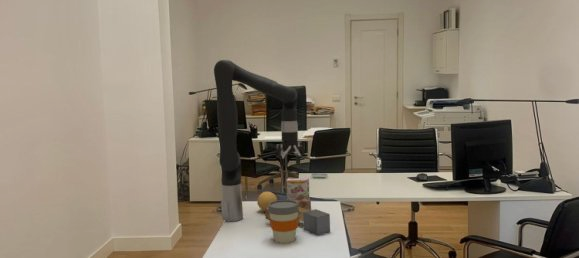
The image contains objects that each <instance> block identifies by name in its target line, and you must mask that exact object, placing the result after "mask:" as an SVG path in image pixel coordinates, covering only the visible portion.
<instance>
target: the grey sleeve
mask: <svg viewBox="0 0 579 258" xmlns="http://www.w3.org/2000/svg"><path fill="white" fill-rule="evenodd" d="M303 221H304V222H303V231H305V232H307V233H310V234H312V235H314V236H316V237H317V236H323V235H325V234H329V233H331V216H330V213H329V212H328V213H327V212H326V211H321V210H319V209H316V208H314V209H311V211H307V212H303Z"/></svg>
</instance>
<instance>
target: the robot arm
mask: <svg viewBox="0 0 579 258" xmlns="http://www.w3.org/2000/svg"><path fill="white" fill-rule="evenodd" d="M213 75H214V80H215V88H216V105H217V106H216V107H217V108H216V109H217V110H216V113H217V124H218V125H217V126H218V134H219V142H220V145H219V147H220V149H219V165H220V167H221V192H222V193H221V196H222V197H221V198H222V199H221V200H220V203H221V204H220V205H221V206H220V208H221V220H223V221H225V222H227V223H230V222H238V221H242V220H243V219H244V209H243V207H244V206H243V191H242V160H241V155H240V153H239V152H238V148H237V135H238V127H239V125H238V124H239V123H238V119H239V118H238V108H237V106H238V105H237V104H236V103H237V102H236V99H235V95H234V91H233V82H238V83H241V84H243V85H245V86H247V87H250V88H252V89H253V90H255V91H257V92H260V93H262V94H265V95H268V96H271V97H273V98H276V99H277V100H279V101H281V102H282V110H281V125H280V127H281V128H280V129H281V143H280V144H278V143H277V144H276V145H275V157H276V158H279V165H280V167H283V168H284V167H285V164H286V163H285V156H286V155H288V154H290V153H294V154H295V164H296V165H300V164H301V156H302V155H305V148H304V145H305V144H304V142H303V141H300V140H299V132H298V131H299V130H298V129H299V127H298V126H299V125H298V113H297V112H298V111H297V107H298V92H297V91H298V90H297V89H296V88H294V87H291V86H287V85H284V84H280V83H278V82H277V81H276V80H273V79H271V78H269V77H265V76H263V75H259V74H257V73H254V72H252V71H249V70H246V69H245V68H243V67H240V66H239V65H237V63H234V62H232V60H230V59H229V60H228V59H221V60H218V61H216V63H215V65H214V67H213ZM298 140H299V141H298Z"/></svg>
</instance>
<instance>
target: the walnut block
mask: <svg viewBox="0 0 579 258" xmlns="http://www.w3.org/2000/svg"><path fill="white" fill-rule="evenodd" d="M293 201H296V202H297V203H298V207H301V208H304V209H307V210H310V211H311V210H312V201H311V200H307V199H302V200H298V199H297V200H293ZM268 210H269V207H267V208H265V211H264V213H265V214H264V216H265V217H264V218H265V220H267V221H270V219H269V218H270V213H269V211H268Z"/></svg>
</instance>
